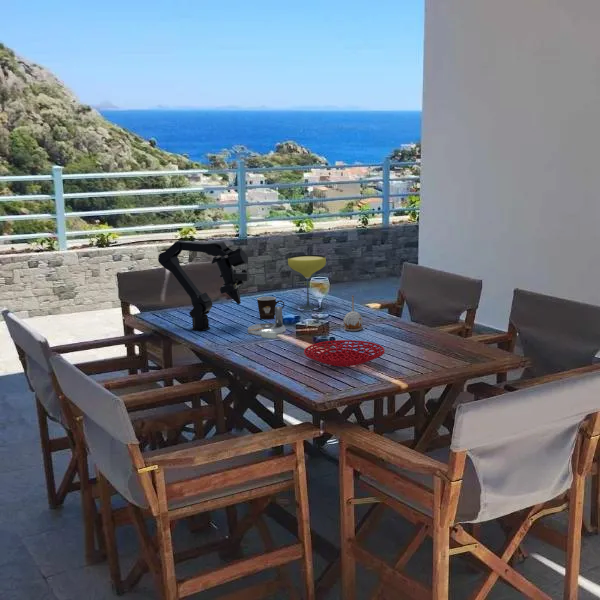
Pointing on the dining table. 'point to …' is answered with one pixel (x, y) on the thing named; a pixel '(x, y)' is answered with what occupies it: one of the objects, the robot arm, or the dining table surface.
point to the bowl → (344, 353)
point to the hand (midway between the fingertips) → (239, 304)
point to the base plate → (267, 334)
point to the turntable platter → (269, 325)
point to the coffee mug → (267, 307)
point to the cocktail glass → (307, 269)
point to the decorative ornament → (353, 319)
